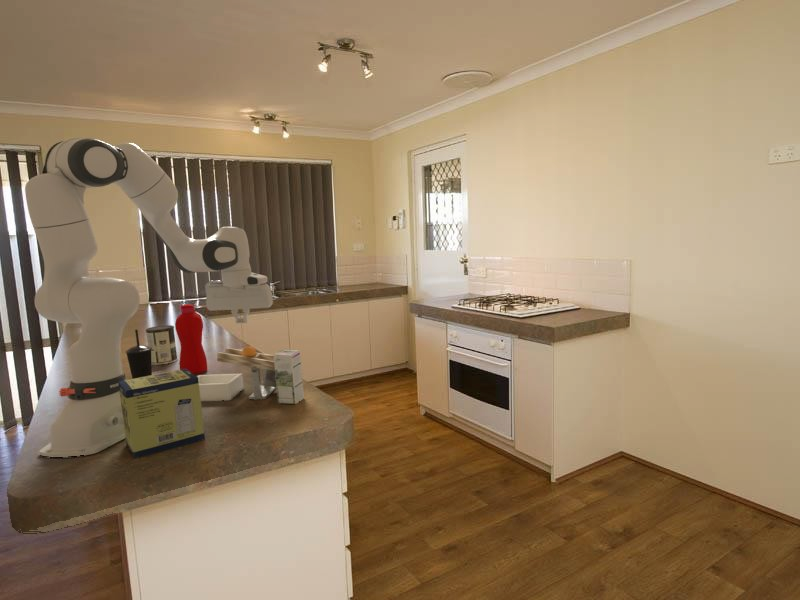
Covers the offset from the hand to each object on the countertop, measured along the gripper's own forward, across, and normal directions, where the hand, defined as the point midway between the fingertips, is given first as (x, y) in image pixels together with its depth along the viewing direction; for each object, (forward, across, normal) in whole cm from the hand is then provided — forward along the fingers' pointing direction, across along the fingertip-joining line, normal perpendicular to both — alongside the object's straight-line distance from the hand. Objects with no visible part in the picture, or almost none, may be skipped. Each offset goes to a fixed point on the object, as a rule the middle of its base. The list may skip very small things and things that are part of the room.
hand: (241, 323), depth 156 cm
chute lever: (+16, +4, -4) cm, 17 cm away
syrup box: (+21, +18, -16) cm, 32 cm away
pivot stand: (+21, +7, -8) cm, 23 cm away
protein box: (+20, -5, -42) cm, 47 cm away
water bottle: (+21, -27, +22) cm, 40 cm away
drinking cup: (+21, -35, 0) cm, 41 cm away
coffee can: (+21, -49, +40) cm, 66 cm away
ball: (+8, +4, -7) cm, 11 cm away
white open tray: (+21, -8, -8) cm, 23 cm away
